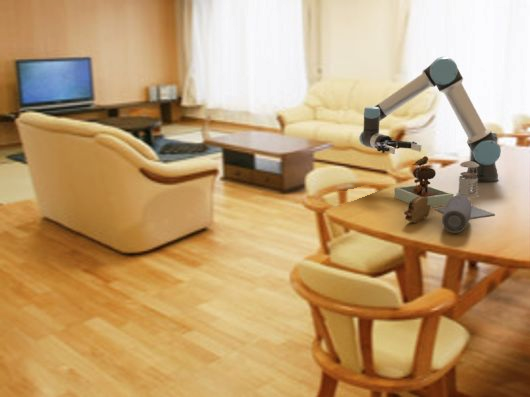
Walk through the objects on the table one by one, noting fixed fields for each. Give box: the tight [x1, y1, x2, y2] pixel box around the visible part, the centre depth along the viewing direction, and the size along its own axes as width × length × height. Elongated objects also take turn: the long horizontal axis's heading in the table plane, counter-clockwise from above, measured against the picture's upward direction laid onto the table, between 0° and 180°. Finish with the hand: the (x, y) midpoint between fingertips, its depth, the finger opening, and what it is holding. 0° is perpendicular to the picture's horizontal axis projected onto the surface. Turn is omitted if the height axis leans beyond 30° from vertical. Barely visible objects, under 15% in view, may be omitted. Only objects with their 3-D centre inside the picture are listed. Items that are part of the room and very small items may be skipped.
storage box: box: [393, 184, 455, 208], centre depth 250 cm, size 15×20×4 cm
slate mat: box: [434, 205, 495, 220], centre depth 232 cm, size 16×16×1 cm
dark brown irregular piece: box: [411, 155, 437, 197], centre depth 249 cm, size 15×11×20 cm
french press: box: [455, 139, 480, 199], centre depth 256 cm, size 10×12×25 cm
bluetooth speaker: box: [441, 194, 472, 234], centre depth 213 cm, size 23×9×10 cm, turn 157°
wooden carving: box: [403, 196, 432, 224], centre depth 221 cm, size 16×5×10 cm, turn 141°
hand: (407, 149), depth 256 cm, fingers open, 13 cm apart
